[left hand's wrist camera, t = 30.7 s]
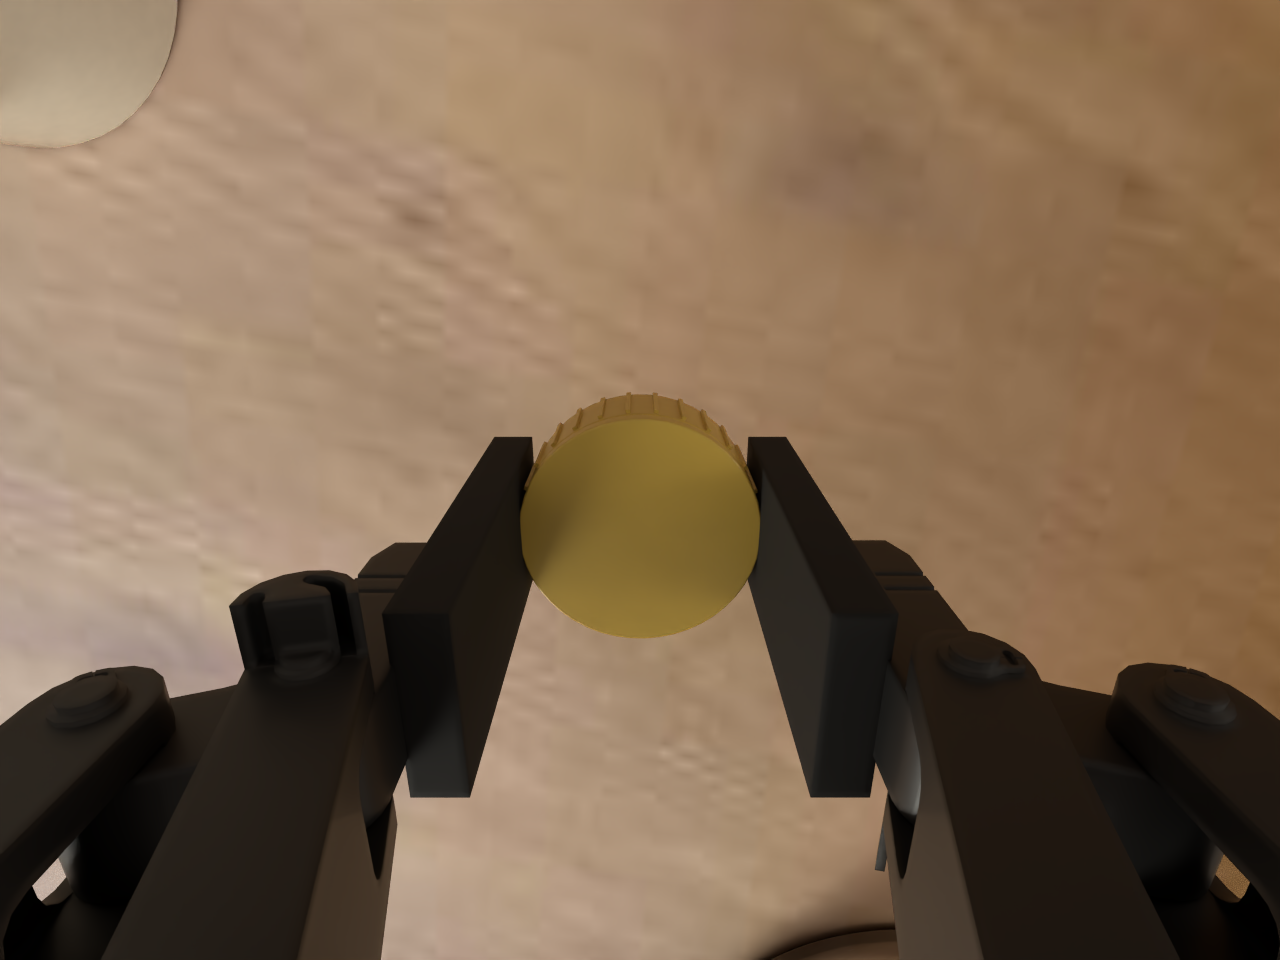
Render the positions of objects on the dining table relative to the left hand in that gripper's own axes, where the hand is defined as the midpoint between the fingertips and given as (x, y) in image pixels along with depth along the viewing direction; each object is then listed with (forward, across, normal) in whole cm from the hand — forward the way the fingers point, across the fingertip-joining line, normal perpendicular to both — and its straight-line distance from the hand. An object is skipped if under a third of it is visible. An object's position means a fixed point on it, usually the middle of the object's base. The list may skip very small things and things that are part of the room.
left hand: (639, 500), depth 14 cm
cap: (-2, 0, 0) cm, 2 cm away
